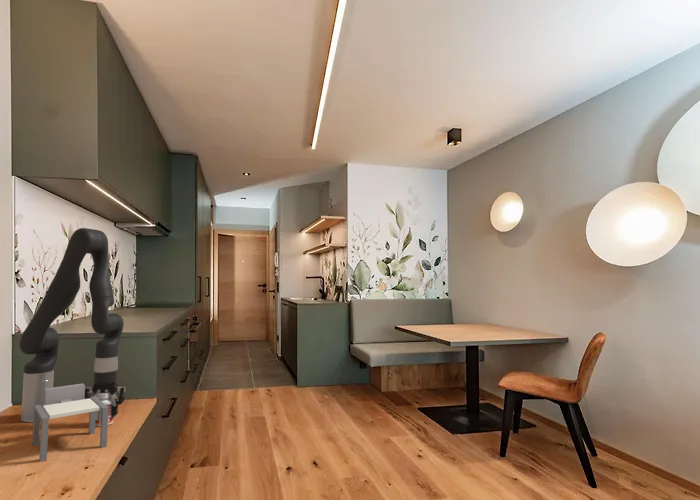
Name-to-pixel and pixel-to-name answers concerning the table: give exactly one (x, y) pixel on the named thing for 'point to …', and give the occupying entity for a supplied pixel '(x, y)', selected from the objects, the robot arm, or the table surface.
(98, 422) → the pill bottle
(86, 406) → the trapdoor
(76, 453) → the table surface
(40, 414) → the stand
